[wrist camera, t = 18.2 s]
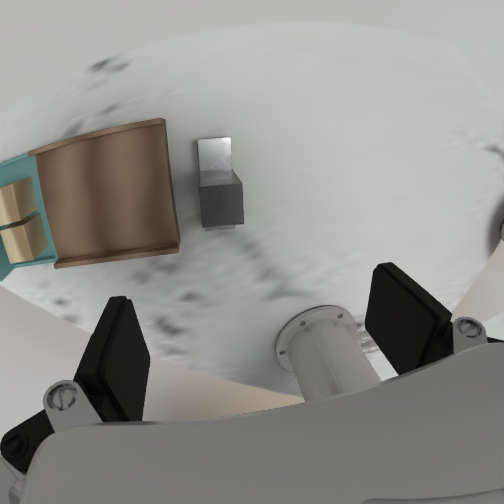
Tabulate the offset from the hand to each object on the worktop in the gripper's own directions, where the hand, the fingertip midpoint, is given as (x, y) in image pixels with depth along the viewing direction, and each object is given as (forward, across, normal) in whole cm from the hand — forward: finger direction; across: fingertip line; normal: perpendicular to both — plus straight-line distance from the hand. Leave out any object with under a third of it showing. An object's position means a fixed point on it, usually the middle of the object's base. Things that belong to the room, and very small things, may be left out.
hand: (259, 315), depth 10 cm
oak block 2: (+19, +22, +1) cm, 29 cm away
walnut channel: (+21, +12, -2) cm, 25 cm away
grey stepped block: (+21, +1, -2) cm, 21 cm away
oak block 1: (+19, +22, -4) cm, 29 cm away
